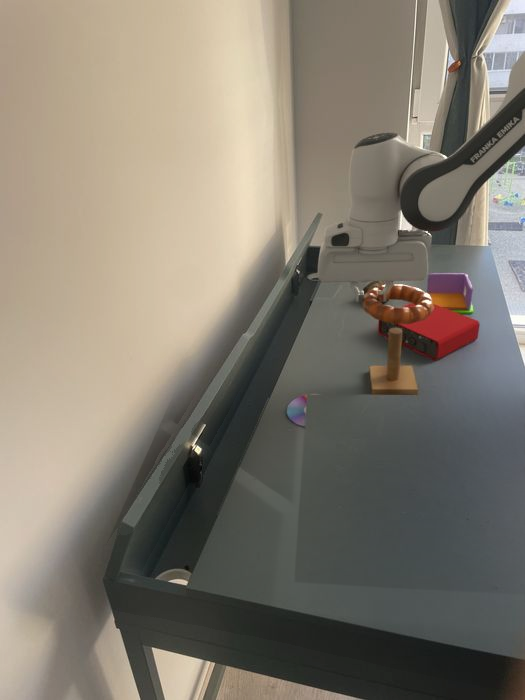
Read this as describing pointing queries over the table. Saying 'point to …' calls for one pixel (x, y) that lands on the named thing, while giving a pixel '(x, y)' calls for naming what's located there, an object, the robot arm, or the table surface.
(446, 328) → the red device housing
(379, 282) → the fossilized seashell
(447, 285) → the dollhouse room
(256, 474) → the table surface
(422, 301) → the ring
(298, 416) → the cd
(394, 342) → the stand
